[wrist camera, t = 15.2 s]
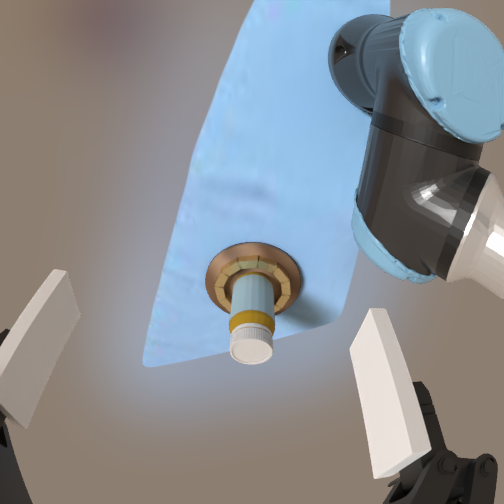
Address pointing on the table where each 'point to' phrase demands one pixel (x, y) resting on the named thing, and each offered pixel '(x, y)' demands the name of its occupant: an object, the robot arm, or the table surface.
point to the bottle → (252, 319)
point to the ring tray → (253, 260)
